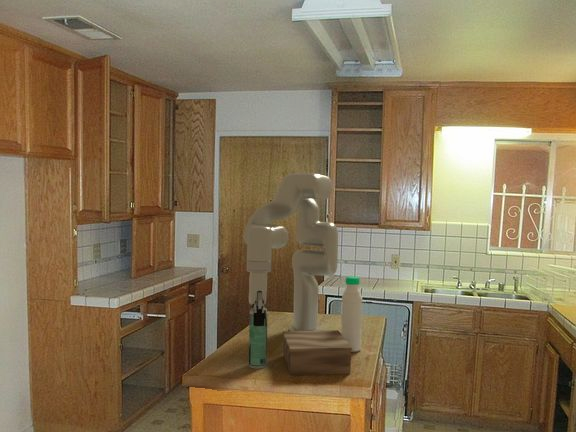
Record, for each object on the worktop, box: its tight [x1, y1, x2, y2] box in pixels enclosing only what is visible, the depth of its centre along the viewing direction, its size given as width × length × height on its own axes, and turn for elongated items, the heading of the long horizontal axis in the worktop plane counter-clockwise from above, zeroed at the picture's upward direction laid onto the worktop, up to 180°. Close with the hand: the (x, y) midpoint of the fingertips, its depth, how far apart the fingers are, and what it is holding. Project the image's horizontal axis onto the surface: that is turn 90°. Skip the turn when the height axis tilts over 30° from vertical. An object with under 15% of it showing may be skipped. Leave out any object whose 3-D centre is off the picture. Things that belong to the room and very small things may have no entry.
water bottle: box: [340, 275, 363, 353], centre depth 173 cm, size 7×7×25 cm
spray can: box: [248, 307, 268, 370], centre depth 155 cm, size 6×6×20 cm
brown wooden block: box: [282, 329, 352, 376], centre depth 158 cm, size 19×19×8 cm
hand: (257, 322), depth 155 cm, fingers open, 9 cm apart
